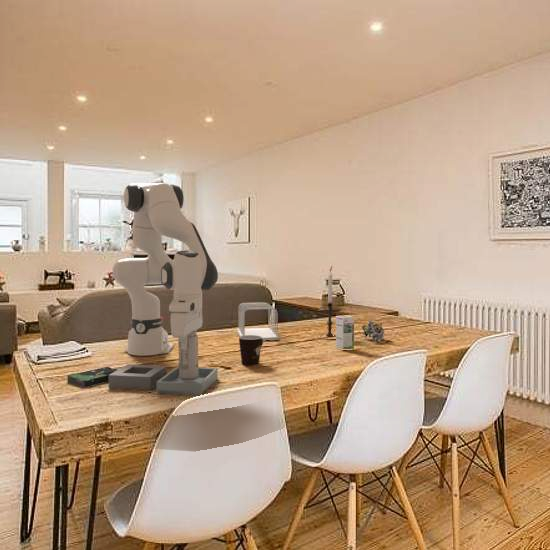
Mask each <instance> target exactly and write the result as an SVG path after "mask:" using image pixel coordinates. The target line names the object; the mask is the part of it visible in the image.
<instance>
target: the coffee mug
mask: <svg viewBox="0 0 550 550" xmlns="http://www.w3.org/2000/svg"><path fill="white" fill-rule="evenodd" d="M238 340H239V351H240V360H241V365H242V364H243V366H247V367H253V365H255V366H257V365H259V364H260V358H261V349H262V346H263V344H264V341H263V340H262V337H261V336H257V335H245V336H240V337H239V336H238Z"/></svg>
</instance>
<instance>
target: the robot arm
mask: <svg viewBox="0 0 550 550" xmlns="http://www.w3.org/2000/svg"><path fill="white" fill-rule="evenodd" d="M184 199H185V197H184V192H183V189H182V188H181V187H180V186H179V185H176V184H172V183H171V184H168V183H165V182H158V183H156V182H154V183H147V182H146V183H136V182H135V183H130V184H127V186H126V187H125V189H124V192H123V203H124V205H125V208H126V209H127V210H128V211H130V212H132V213H133V219H132V243H133V246H135V247H136V248H137V249H139V251H140V250H141V251H143V252H144V253H146V254H147V257H127V258H122V259H118V260H117V261H116V262H115V263H114V265H113V267H112V277H113V279H114V281H115V282H116V283H117V284H118V285H120V286H122V288H124V289H125V291H126V292H127V294H128V296H129V299H130V301H131V312H132V313H131V314H132V317H131V319H130V320H131V321H130V324H131V325H130V326H131V329H130V330H129V332H128V336H127V348H125V349H124V352H125V353H127V354H129V355H133V356H139V357H140V356H156V355H160V354H162V355H163V354H169V353H170V352H171V350H172V349H173V347H174V346H175V345H174V343H171V342H169V334H168V332H167V331H166V330H165V329H164V328H163V322H164V319H165V318H164V317H163V316H161V300H160V299H159V297H158V296H157V295H155V294H153V293H151V292H148V291H146V288H145V286H147V285H163V287H165V288H166V289H167V290H171V291H173V298H172V301H170V302H171V303H170V304H169V306H168V311H169V313H171V314H170V331H171V333H170V334H171V336H172V337H173V338H179V340H180V343H181V349H183V350H186V349H187V348H188V343H187V335H189V334H190V333H192V332H194V331H196V334H197V330H199V329H200V328H202V327H203V291H209V290H210V289H212V288H213V287H214V286H215V285H216V284H217V282H218V278H219V273H218V269H217V266H216V265H215V262H214V261H213V260H212V258H211V257H210V255H209V253H208V250H207V249H206V246H205V244H204V242H203V239H202V238H201V236H200V233H199V231H198V229H197V227H196V226H195V224H194V222H192V221H190V220H189V219H187V217H186V216H185V215H184V213H183V212H182V208H183V207H184V206H183V205H184ZM162 236H164V237H167V238H169V239H172V240H173V239H174V240H175V241H179V242H182V243H183V244H185V245H186V247H188V248H189V250H178V251H177V252H175V254H174V257H173V259H172V258H170V256H169V255H167V253H166V252H165V250H164V247H163V242H162V240H163V239H162Z"/></svg>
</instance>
